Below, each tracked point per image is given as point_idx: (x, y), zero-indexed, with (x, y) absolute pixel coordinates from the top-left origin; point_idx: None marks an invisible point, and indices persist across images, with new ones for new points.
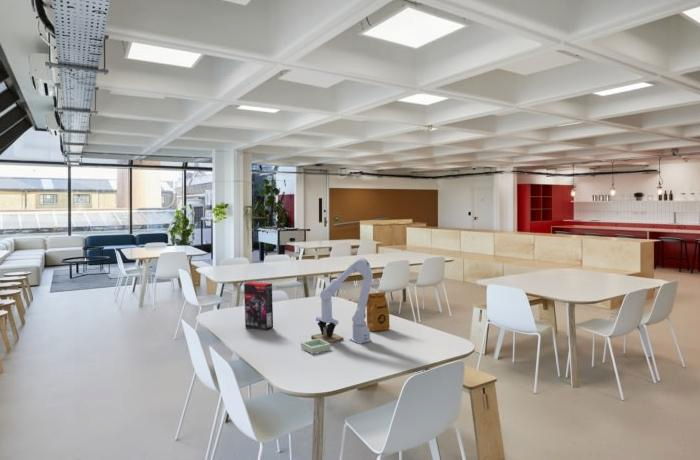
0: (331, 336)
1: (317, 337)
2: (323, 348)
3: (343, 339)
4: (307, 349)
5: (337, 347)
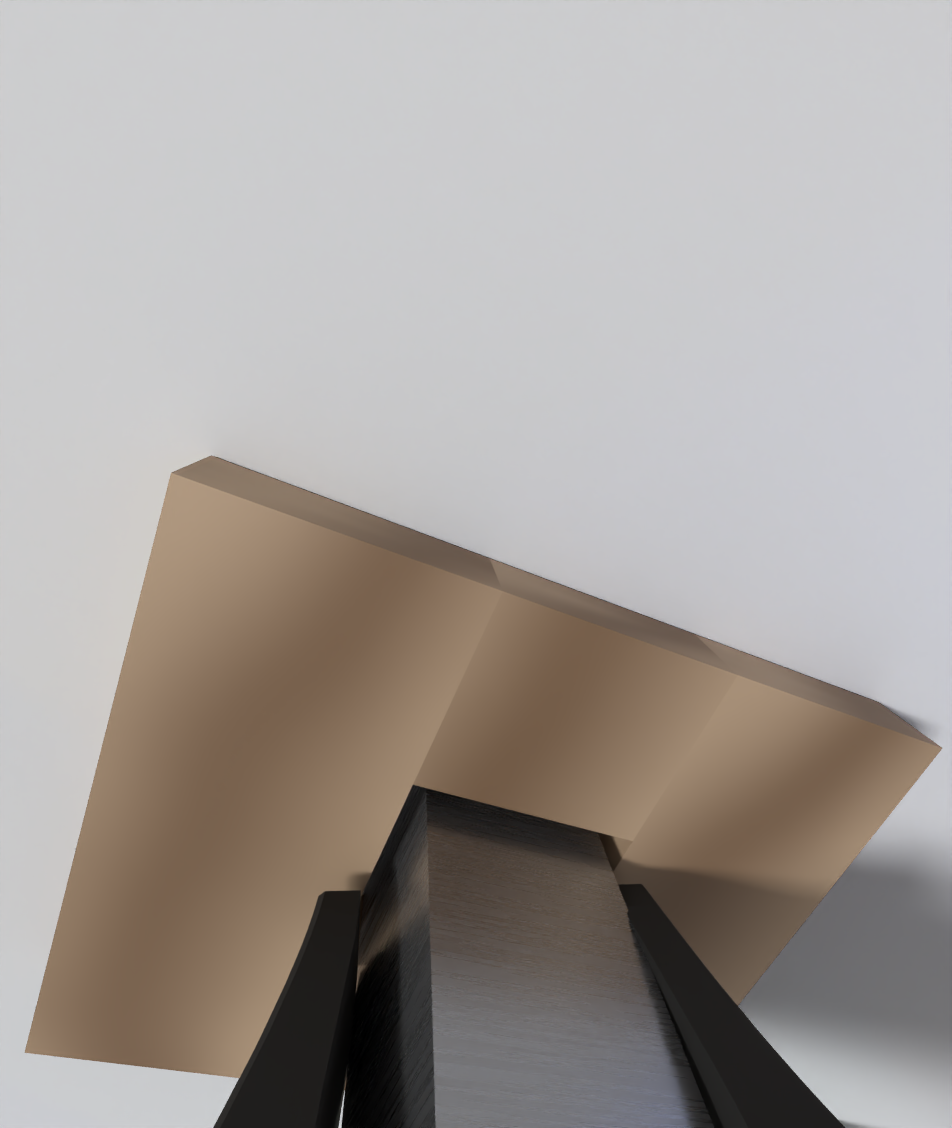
0: (603, 867)
1: None
2: None
3: (895, 715)
4: None
5: (893, 1019)
